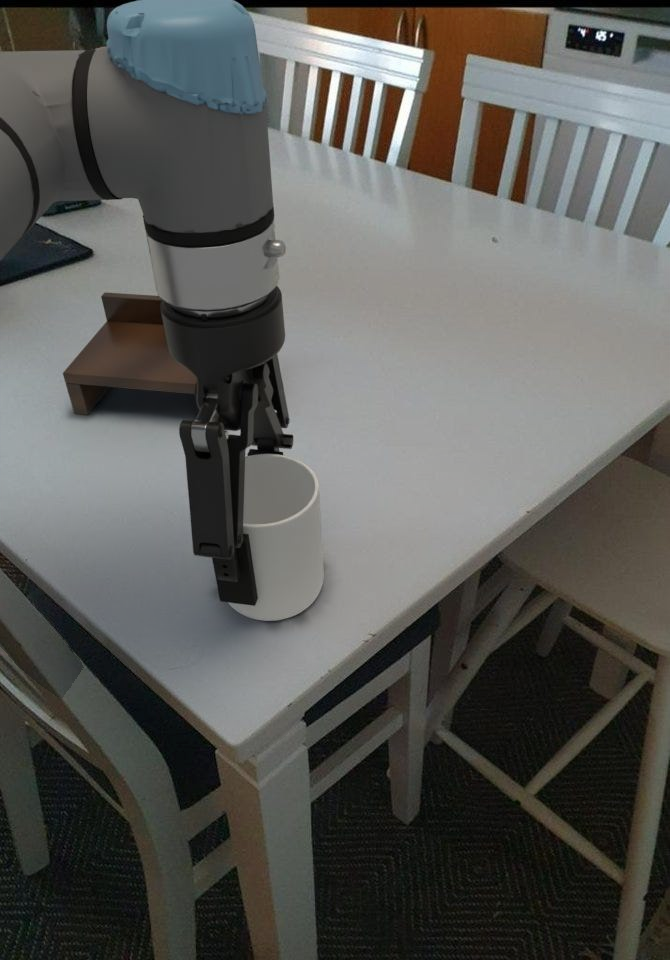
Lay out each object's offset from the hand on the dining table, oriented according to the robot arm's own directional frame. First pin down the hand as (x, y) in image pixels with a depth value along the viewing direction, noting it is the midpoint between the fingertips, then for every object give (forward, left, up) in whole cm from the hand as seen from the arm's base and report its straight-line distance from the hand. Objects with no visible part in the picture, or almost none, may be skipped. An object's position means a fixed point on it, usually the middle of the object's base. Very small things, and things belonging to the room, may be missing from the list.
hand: (256, 555), depth 64 cm
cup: (0, +1, -3) cm, 3 cm away
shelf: (-18, +26, -3) cm, 32 cm away
